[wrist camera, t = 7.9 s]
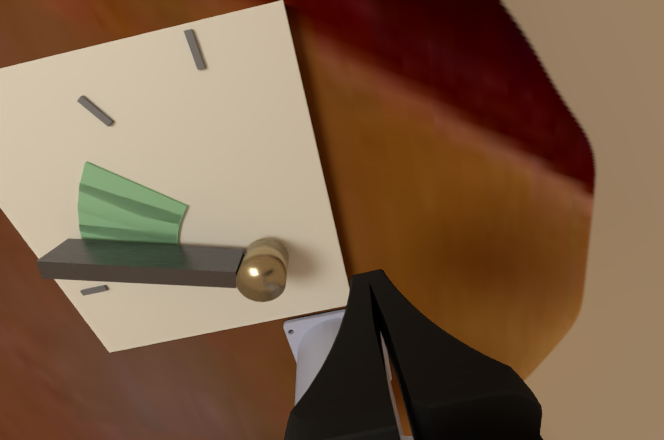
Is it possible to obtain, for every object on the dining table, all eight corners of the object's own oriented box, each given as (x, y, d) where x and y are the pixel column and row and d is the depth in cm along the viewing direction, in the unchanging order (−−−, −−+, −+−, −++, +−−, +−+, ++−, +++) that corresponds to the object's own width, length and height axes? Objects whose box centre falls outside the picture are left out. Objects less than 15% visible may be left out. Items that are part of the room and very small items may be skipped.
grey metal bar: (290, 239, 21) (286, 263, 18) (287, 276, 22) (284, 303, 20) (65, 225, 20) (29, 248, 17) (77, 264, 21) (45, 291, 18)
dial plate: (351, 295, 25) (353, 305, 24) (116, 342, 26) (107, 354, 25) (284, 3, 16) (282, -1, 15) (-68, 88, 17) (-93, 90, 16)
